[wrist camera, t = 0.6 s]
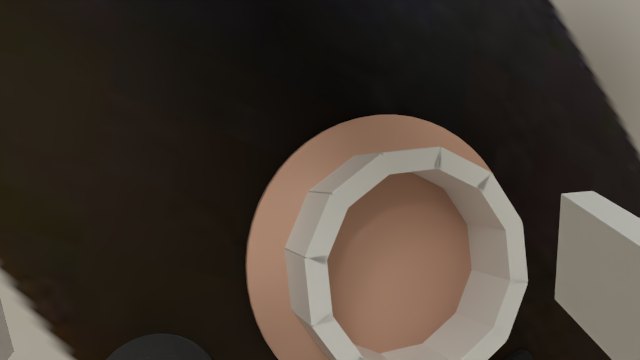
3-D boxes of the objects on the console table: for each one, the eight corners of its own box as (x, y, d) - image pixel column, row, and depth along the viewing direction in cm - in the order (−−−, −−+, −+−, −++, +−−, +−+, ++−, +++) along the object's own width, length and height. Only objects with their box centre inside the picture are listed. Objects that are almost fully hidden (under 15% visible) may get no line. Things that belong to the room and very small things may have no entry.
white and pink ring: (316, 65, 35) (344, 49, 30) (543, 184, 40) (596, 185, 35) (195, 350, 32) (205, 379, 28) (451, 436, 38) (495, 472, 33)
